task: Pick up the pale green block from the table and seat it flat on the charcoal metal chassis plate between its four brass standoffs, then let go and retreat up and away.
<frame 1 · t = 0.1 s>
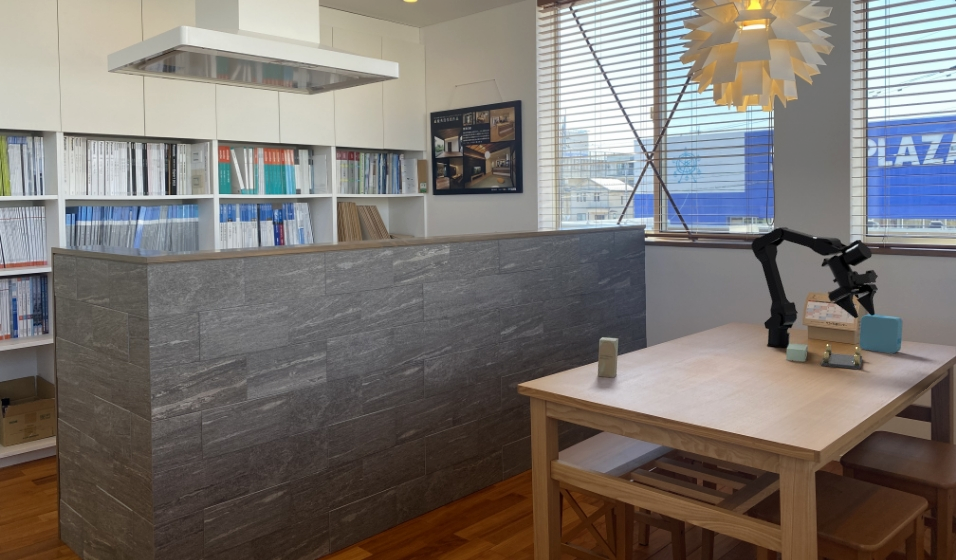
hand: (865, 316, 245), 15 cm above the table, tool tilted 30°, fingers open, 9 cm apart
pale green block: (796, 358, 253), on the table
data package: (879, 351, 264), on the table
box: (607, 376, 228), on the table
chassis: (841, 362, 246), on the table
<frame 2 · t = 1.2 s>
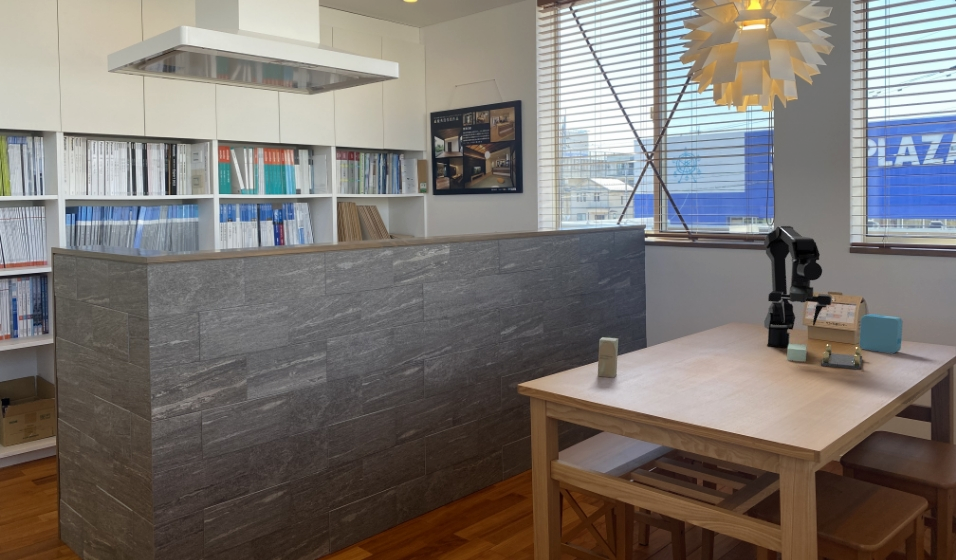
hand: (798, 324, 251), 11 cm above the table, tool pointing down, fingers open, 9 cm apart
nothing on the table moved.
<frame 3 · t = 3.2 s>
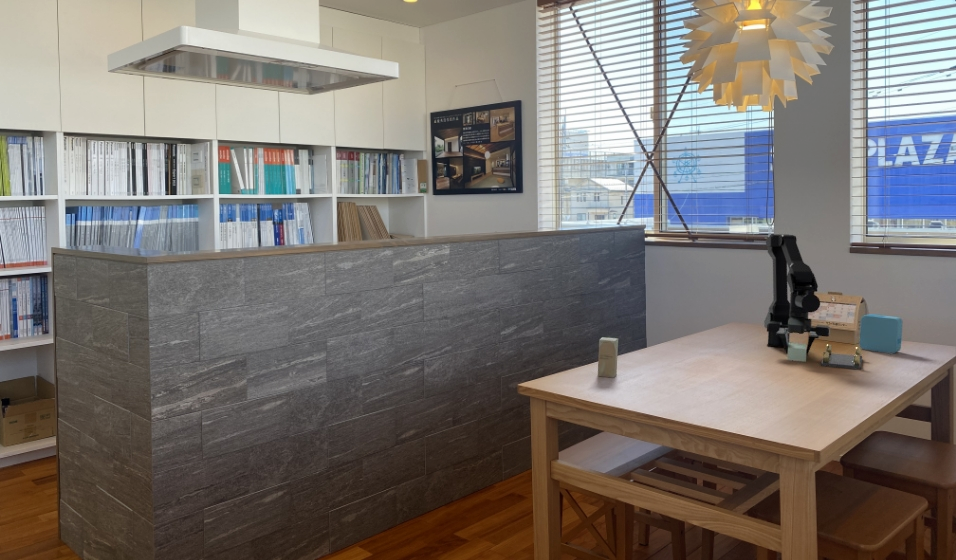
hand: (796, 354, 253), 1 cm above the table, tool pointing down, fingers closed on pale green block, 6 cm apart
pale green block: (796, 357, 253), on the table, touching gripper
everything else where it was.
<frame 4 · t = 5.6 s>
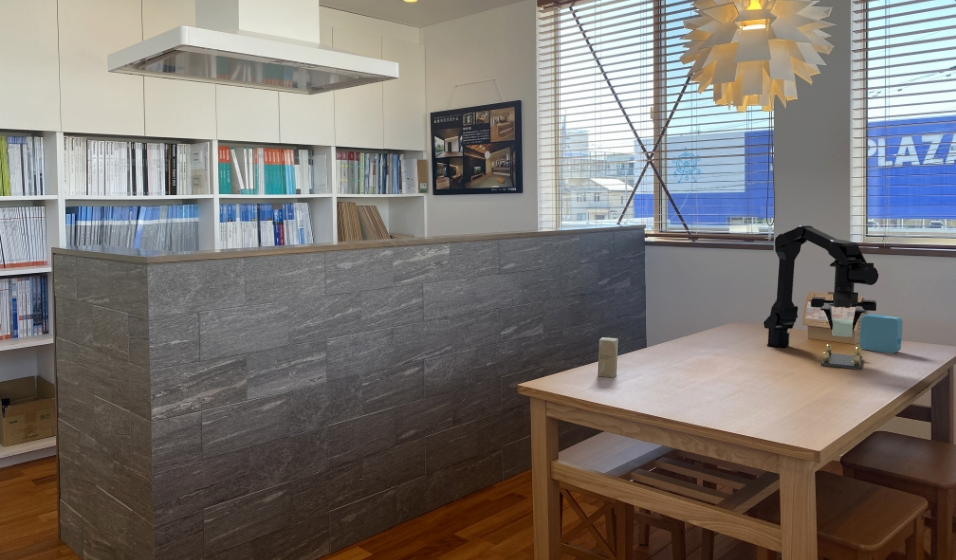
hand: (842, 330, 245), 10 cm above the table, tool pointing down, fingers closed on pale green block, 6 cm apart
pale green block: (841, 333, 245), point 9 cm above the table, touching gripper
everything else where it was.
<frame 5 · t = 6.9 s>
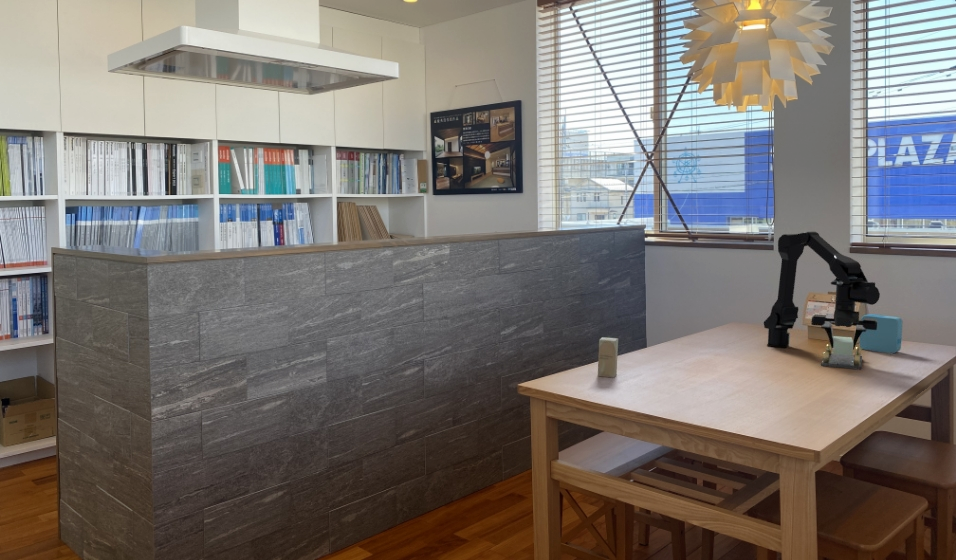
hand: (842, 348, 246), 4 cm above the table, tool pointing down, fingers closed on pale green block, 6 cm apart
pale green block: (842, 351, 246), point 3 cm above the table, touching gripper
everything else where it was.
when the fingers open (3 cm above the table, at t = 8.0 s): pale green block drops 1 cm, resting on chassis.
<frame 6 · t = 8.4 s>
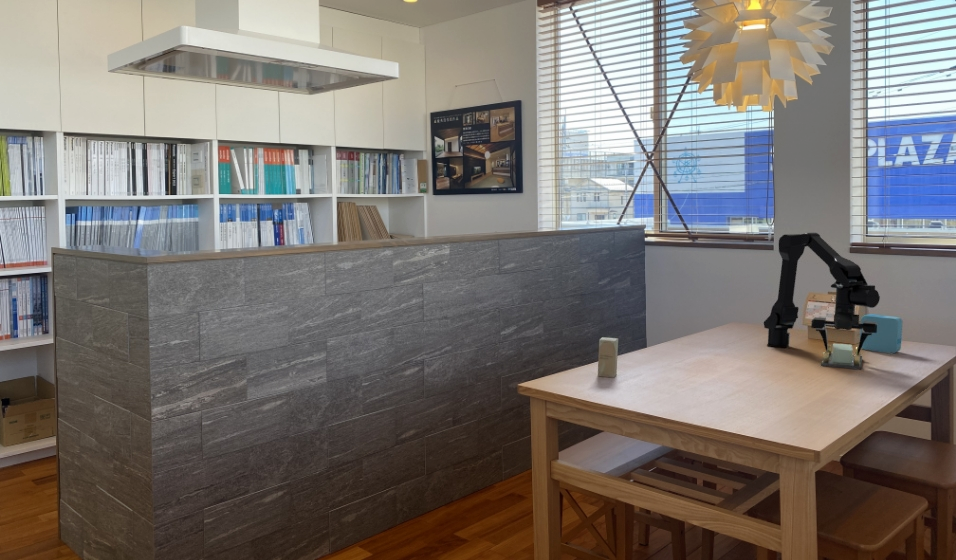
hand: (842, 351, 246), 3 cm above the table, tool pointing down, fingers open, 9 cm apart
pale green block: (842, 359, 246), point 1 cm above the table, touching chassis
everything else where it was.
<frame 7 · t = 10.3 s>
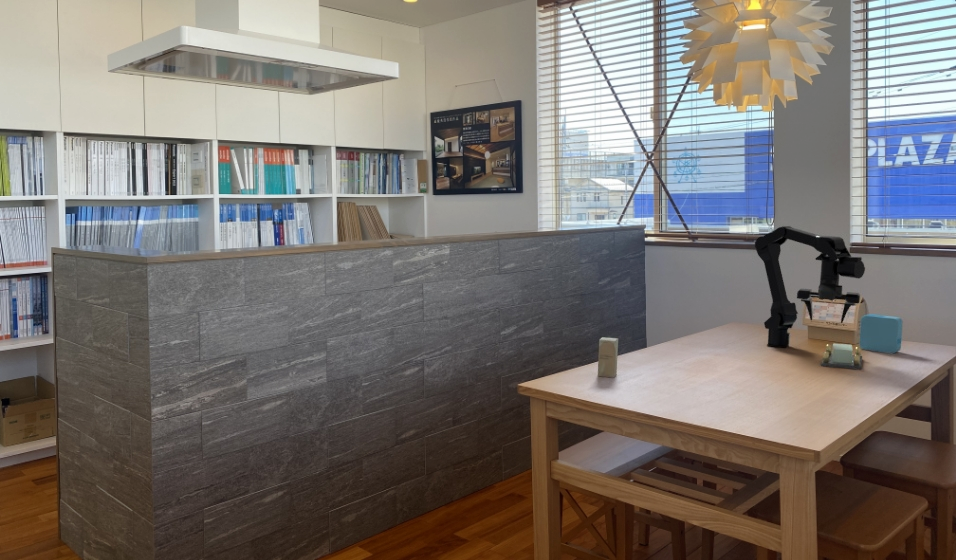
hand: (826, 321, 255), 11 cm above the table, tool pointing down, fingers open, 9 cm apart
nothing on the table moved.
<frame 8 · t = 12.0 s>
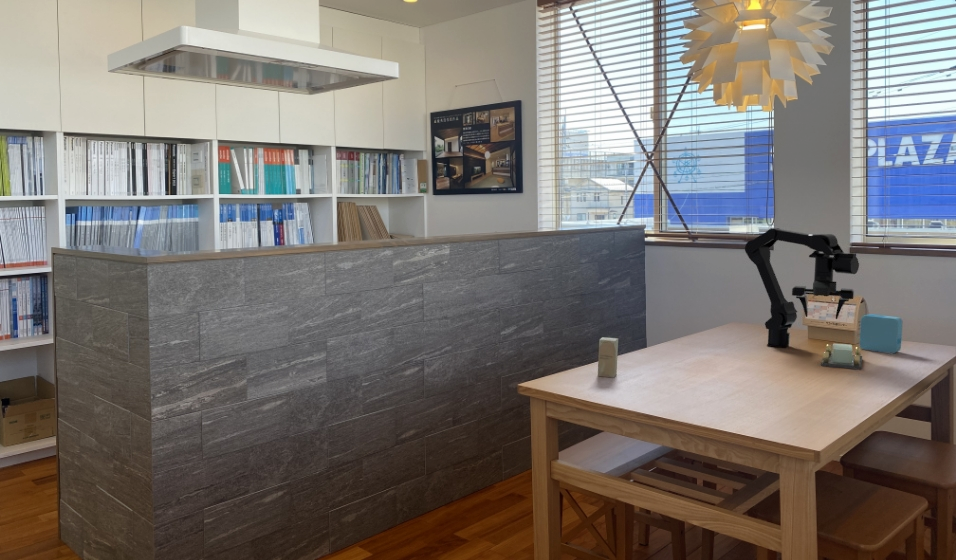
hand: (821, 317, 259), 12 cm above the table, tool pointing down, fingers open, 9 cm apart
nothing on the table moved.
at the end: pale green block 0.0 cm off-centre on the chassis, point 1.0 cm above the chassis's base; pale green block tilted 0°; the gripper is holding nothing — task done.
